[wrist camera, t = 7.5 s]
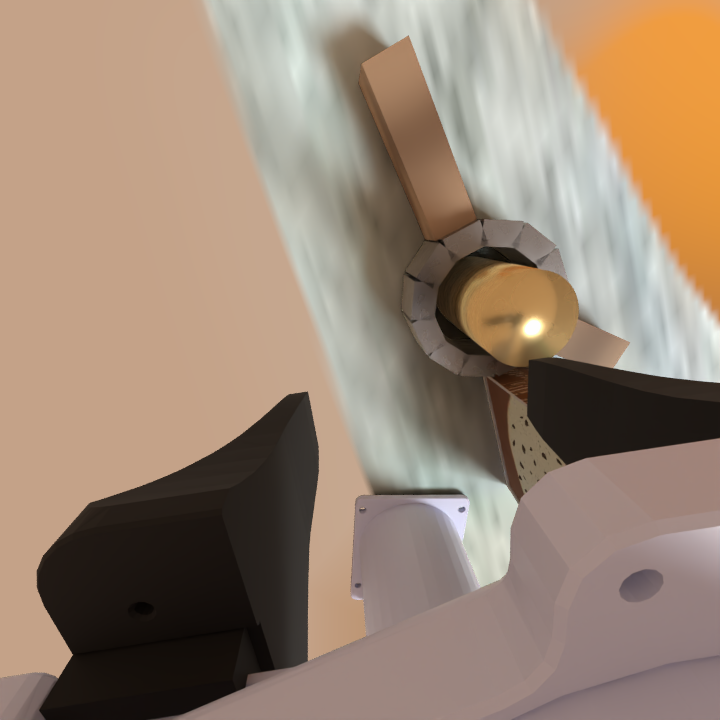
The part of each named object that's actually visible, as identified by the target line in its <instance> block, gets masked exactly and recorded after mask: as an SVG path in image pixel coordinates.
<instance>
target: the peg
mask: <svg viewBox="0 0 720 720" xmlns="http://www.w3.org/2000/svg"><path fill="white" fill-rule="evenodd" d="M436 303H437V306H438V308H439V310H440V312H441V314H442V315H443V316H444V317H445V318H446V319H447V320H448V321H450V322H451V323H452V324H453V325H455V326H456V327H457V328H458V329H460V330H461V331H462V332H463V333H465V334H466V335H467V336H468V337H470V338H471V339H472V340H473V341H475V342H476V343H477V344H478V345H479V346H481V347H482V348H483V349H484V350H486V351H487V352H488V353H489V354H491V355H492V356H493V357H494V358H496V359H497V360H499V361H500V362H502V363H504V364H506V365H510V366H515V367H528V366H529V360H532V359H539V358H546V357H553V356H554V355H556V354H557V353H558V352H559V351H560V350H561V349H562V348H563V347H564V346H565V345H566V344H567V342H568V341H569V339H570V338H571V336H572V334H573V332H574V330H575V327H576V324H577V320H578V313H579V306H578V300H577V296H576V293H575V291H574V289H573V288H572V286H571V285H570V283H569V282H568V281H567V280H566V279H564V278H563V277H562V276H560V275H558V274H556V273H554V272H551V271H547V270H542V269H537V268H532V267H527V266H522V265H517V264H512V263H507V262H502V261H497V260H492V259H487V258H482V257H473V256H472V257H465V258H462V259H459V260H457V261H456V262H455V264H454V265H453V267H452V268H451V270H450V271H449V272H448V274H447V275H446V277H445V278H444V280H443V281H442V282H441V284H440V285H439V287H438V294H437V302H436Z"/></svg>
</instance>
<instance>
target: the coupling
mask: <svg viewBox="0 0 720 720" xmlns="http://www.w3.org/2000/svg"><path fill="white" fill-rule="evenodd" d="M358 83H359V86H360V88H361V90H362V93H363V95H364V97H365V100H366V102H367V104H368V107H369V109H370V111H371V114H372V116H373V118H374V121H375V123H376V125H377V128H378V130H379V132H380V135H381V137H382V139H383V142H384V144H385V146H386V149H387V151H388V154H389V156H390V158H391V161H392V163H393V165H394V168H395V170H396V172H397V175H398V177H399V179H400V182H401V184H402V186H403V189H404V191H405V193H406V196H407V198H408V200H409V203H410V205H411V207H412V210H413V212H414V214H415V217H416V219H417V221H418V224H419V226H420V228H421V231H422V233H423V236H424V238H425V240H429V241H424V243H423V244H422V246H421V247H420V249H419V250H418V252H417V253H416V255H415V257H414V258H413V260H412V261H411V263H410V264H409V266H408V267H407V269H406V270H405V271H406V272H407V273H409V274H410V275H404V277H403V289H402V301H401V309H402V310H403V311H402V313H403V315H404V318H405V320H406V322H407V324H408V326H409V328H410V330H411V332H412V334H413V336H414V338H415V340H416V341H417V343H418V344H419V345H420V347H421V348H422V349H423V351H424V352H425V354H426V355H427V356H428V357H429V358H430V359H432V360H433V361H435V362H437V363H438V364H440V365H442V366H443V367H445V368H446V369H448V370H450V371H451V372H453V373H454V374H456V375H458V374H459V375H460V376H474V377H495V374H497V375H498V376H500V375H502V374H504V373H506V372H508V371H510V370H512V369H514V368H517V367H515V366H510V365H506V364H504V363H502V362H500V361H499V360H497V359H496V358H494V357H493V356H492V355H491V354H489V353H488V352H487V351H486V350H484V349H483V348H482V347H481V346H479V345H478V344H477V343H476V342H475V341H473V340H463V339H450V338H448V337H447V336H445V335H444V334H443V333H442V331H441V329H440V327H439V325H438V322H437V320H436V318H435V311H436V302H437V294H438V287H439V285H440V284H441V282H442V281H443V280H444V278H445V277H446V275H447V274H448V272H449V271H450V270H451V268H452V267H453V265H454V264H455V262H456V261H457V260H459V259H461V258H463V257H465V256H467V255H469V254H471V253H473V252H475V251H476V250H478V249H480V248H482V247H484V246H490V247H493V248H494V249H496V250H497V251H498V252H500V253H501V254H502V255H504V256H505V257H506V258H508V259H509V260H510V263H512V264H517V265H522V266H527V267H532V268H537V269H542V270H547V271H551V272H554V273H556V274H558V275H560V276H562V277H563V278H564V279H566V280H567V281H568V279H567V275H566V272H565V269H564V265H563V262H562V259H561V256H560V252H559V249H555V246H556V245H555V244H554V243H552V242H551V241H550V240H549V239H547V238H546V237H545V236H544V235H542V234H541V233H540V232H539V231H537V230H536V229H535V228H533V227H532V226H531V225H530V224H528V223H523V221H509V220H491V219H478V220H476V216H475V213H474V210H473V208H472V205H471V202H470V200H469V197H468V194H467V192H466V189H465V186H464V183H463V181H462V178H461V175H460V173H459V170H458V167H457V165H456V162H455V159H454V157H453V154H452V151H451V148H450V146H449V143H448V140H447V138H446V135H445V132H444V130H443V127H442V124H441V121H440V119H439V116H438V113H437V111H436V108H435V105H434V103H433V100H432V97H431V94H430V92H429V89H428V86H427V84H426V81H425V78H424V76H423V73H422V70H421V68H420V65H419V62H418V59H417V57H416V54H415V51H414V49H413V46H412V43H411V41H410V38H409V36H407V37H405V38H404V39H402V40H400V41H399V42H397V43H395V44H394V45H392V46H390V47H389V48H387V49H385V50H384V51H382V52H380V53H379V54H377V55H375V56H374V57H372V58H370V59H369V60H367V61H365V62H363V63H362V64H361V70H360V76H359V82H358ZM629 343H630V342H628V341H626V340H623V339H621V338H619V337H617V336H614V335H612V334H610V333H608V332H606V331H603V330H601V329H599V328H597V327H595V326H592V325H590V324H588V323H586V322H583V321H581V320H579V319H578V320H577V324H576V327H575V330H574V332H573V334H572V336H571V338H570V339H569V341H568V342H567V344H566V345H565V346H564V347H563V348H562V349H561V350H560V351H559V352H558V353H557V354H556V355H558V356H560V357H563V358H565V359H568V360H574V361H579V362H584V363H589V364H594V365H599V366H604V367H609V368H613V367H614V366H615V364H616V363H617V361H618V360H619V358H620V357H621V355H622V354H623V352H624V351H625V349H626V348H627V346H628V345H629Z"/></svg>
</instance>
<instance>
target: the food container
mask: <svg viewBox="0 0 720 720" xmlns="http://www.w3.org/2000/svg"><path fill="white" fill-rule="evenodd" d="M483 380H484V384H485V389H486V393H487V398H488V403H489V407H490V412H491V416H492V421H493V425H494V430H495V434H496V439H497V444H498V448H499V453H500V457H501V462H502V466H503V471H504V475H505V480H506V484H507V487H508V488H509V490H510V491H511V493H512V495H513V496H514V498H515V500H516V501H517V503H518V504H519V502H520V499H521V498H522V497H523V495H524V494H525V493H527V492H528V491H529V490H530V489H531V488H532V487H533V486H534V485H535V484H536V483H537V482H538V481H539V480H540V479H541V478H542V477H543V476H544V475H546V474H547V473H548V472H550V471H553V470H555V469H558V468H561V467H564V466H566V464H565V463H564V462H563V461H562V460H561V459H560V458H559V457H558V456H557V454H556V453H555V452H554V451H553V450H552V449H551V448H550V447H549V446H548V445H547V444H546V442H545V441H544V440H543V439H542V438H541V436H540V435H539V433H538V432H537V431H536V429H535V428H534V426H533V425H532V423H531V422H530V420H529V418H528V417H527V397H528V368H527V367H517V368H514V369H512V370H510V371H508V372H506V373H504V374H502V375H500V376H498V375H497V374H495V377H483Z"/></svg>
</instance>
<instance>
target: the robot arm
mask: <svg viewBox="0 0 720 720" xmlns="http://www.w3.org/2000/svg"><path fill="white" fill-rule="evenodd" d="M527 417H528V418H529V420H530V422H531V423H532V425H533V426H534V428H535V429H536V431H537V432H538V433H539V435H540V436H541V438H542V439H543V440H544V441H545V442H546V444H547V445H548V446H549V447H550V448H551V449H552V450H553V451H554V452H555V453H556V454H557V456H558V457H559V458H560V459H561V460H562V461H563V462H564V463H565V464H566V466H564V467H561V468H558V469H555V470H553V471H550V472H548V473H547V474H546V475H544V476H543V477H542V478H541V479H540V480H539V481H538V482H537V483H536V484H535V485H534V486H533V487H532V488H531V489H530V490H529V491H528V492H527V493H525V494H524V495H523V497H522V498H521V499H520V502H519V505H518V508H517V511H516V514H515V517H514V520H513V523H512V526H511V540H510V562H509V568H508V572H507V573H506V575H505V576H503V577H502V578H501V579H500V580H498V581H496V582H493V583H491V584H489V585H486V586H484V587H482V588H481V587H480V585H479V582H478V580H477V577H476V575H475V572H474V570H473V567H472V565H471V563H470V560H469V558H468V555H467V553H466V550H465V548H464V545H463V537H464V532H465V526H466V521H467V515H468V509H469V504H470V502H469V499H468V497H467V496H465V495H361V496H359V497H358V498H357V499H356V503H355V521H354V522H355V523H354V540H353V559H352V576H351V597H352V598H353V599H356V600H363V601H364V613H365V625H366V637H364V638H362V639H359V640H357V641H354V642H352V643H350V644H347V645H345V646H343V647H340V648H338V649H336V650H333V651H331V652H329V653H326V654H324V655H321V656H319V657H317V658H314V659H312V660H310V661H308V654H307V653H308V572H309V571H308V570H309V543H310V532H311V525H312V518H313V510H314V502H315V496H316V489H317V481H318V472H319V469H318V468H319V455H318V454H319V450H318V442H317V437H316V431H315V426H314V421H313V416H312V411H311V405H310V400H309V395H308V392H302V393H295V394H289V395H287V396H286V397H285V398H284V399H282V400H281V401H280V402H279V403H278V404H277V405H276V406H275V407H273V408H272V409H271V410H270V411H269V412H268V413H267V414H266V415H265V416H263V417H262V418H261V419H260V420H259V421H258V422H256V423H255V424H254V425H253V426H251V427H250V428H249V429H248V430H246V431H245V432H244V433H243V434H241V435H240V436H239V437H237V438H236V439H234V440H233V441H231V442H230V443H228V444H227V445H225V446H224V447H222V448H220V449H219V450H217V451H215V452H214V453H212V454H210V455H208V456H206V457H205V458H203V459H201V460H199V461H197V462H195V463H193V464H191V465H189V466H187V467H185V468H183V469H181V470H179V471H177V472H174V473H172V474H170V475H168V476H165V477H163V478H161V479H158V480H156V481H153V482H151V483H148V484H146V485H143V486H140V487H137V488H135V489H131V490H129V491H126V492H122V493H120V494H116V495H114V496H110V497H108V498H104V499H101V500H98V501H95V502H91V503H89V504H88V505H87V506H86V508H85V509H84V510H83V511H82V512H81V513H80V515H79V516H78V517H77V518H76V519H75V520H74V521H73V522H72V523H71V525H70V526H69V527H68V528H67V529H66V530H65V531H64V533H63V534H62V535H61V536H60V537H59V539H57V541H56V542H55V543H54V544H53V545H52V546H51V547H50V549H49V550H48V551H47V552H46V553H45V554H44V555H43V557H42V560H41V562H40V565H39V567H38V569H37V589H38V592H39V594H40V597H41V599H42V602H43V604H44V607H45V608H46V610H47V612H48V613H49V615H50V617H51V618H52V620H53V622H54V624H55V625H56V627H57V629H58V630H59V632H60V634H61V635H62V637H63V639H64V640H65V642H66V644H67V645H68V647H69V649H70V651H71V652H72V654H73V656H72V657H71V659H70V661H69V662H68V664H67V665H66V667H65V669H64V670H63V672H62V674H61V675H60V677H59V678H56V677H55V676H53V675H50V674H47V673H28V674H22V675H16V676H9V677H3V678H0V720H720V383H714V382H702V381H693V380H684V379H675V378H667V377H660V376H653V375H647V374H641V373H635V372H630V371H624V370H619V369H614V368H609V367H604V366H599V365H594V364H589V363H584V362H579V361H574V360H568V359H562V358H552V357H546V358H539V359H532V360H529V366H528V397H527ZM363 507H364V508H365V509H363V510H362V509H360V508H363ZM460 507H463V508H461V509H459V508H460Z"/></svg>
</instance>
